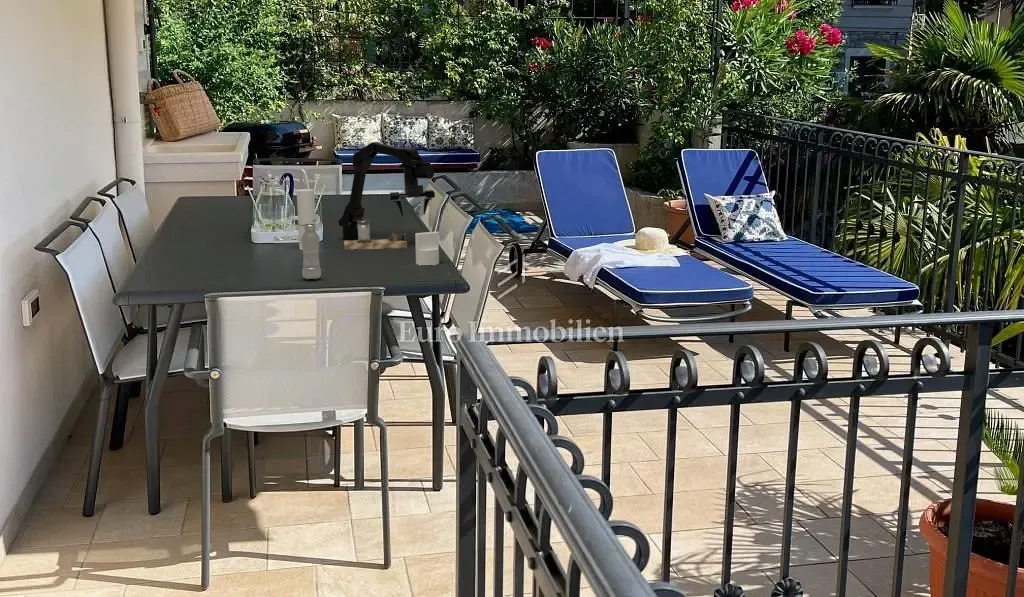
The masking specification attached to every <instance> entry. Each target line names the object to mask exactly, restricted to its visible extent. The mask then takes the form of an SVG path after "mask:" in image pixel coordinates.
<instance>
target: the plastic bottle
mask: <svg viewBox="0 0 1024 597" xmlns="http://www.w3.org/2000/svg"><path fill="white" fill-rule="evenodd" d="M304 230H305V232H304V234H303V236H302V238H301V242H302V248H303V251H302V256H303V260H302V261H303V262H302V263H303V264H302V265H303V266H302V271H301V273H302V277H303V279H304V278H305V279H304V280H309V279H314V280H317V279H320V278H321V274H322V269H321V266H320V259H319V256H320V255H319V253H320V251H319V250H320V241H321V238H320V235H319V234H318V233H317V231H316V232H315V224H305V225H304Z"/></svg>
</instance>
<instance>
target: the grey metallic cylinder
mask: <svg viewBox="0 0 1024 597" xmlns="http://www.w3.org/2000/svg"><path fill="white" fill-rule="evenodd" d="M357 223H358V224H357V228H358V239H357V240H358V243H370V240H371V236H370V235H371V234H370V233H371V232H370V231H371V230H370V224H371V220H370V219H361V220H357Z"/></svg>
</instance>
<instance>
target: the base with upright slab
mask: <svg viewBox="0 0 1024 597" xmlns="http://www.w3.org/2000/svg"><path fill="white" fill-rule="evenodd" d="M414 236H415V265H417V264H418V265H417V266H421V265H433V266H437V264H438V265H439V264H440V250H439V249H440V248H439V247H440V242H439V241H440V240H439V232H438V231H427V232H416V233H415V235H414Z"/></svg>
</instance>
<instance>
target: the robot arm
mask: <svg viewBox="0 0 1024 597" xmlns="http://www.w3.org/2000/svg"><path fill="white" fill-rule="evenodd" d="M378 154H382V155H386V156H390V157H394V158H396V159H397V160H398V161H401V164H399V165H398V168H399V169H403V177H404V178H403V179H404V180H403V181H404V182H403V183H404V193H403V192H402V193H400V192H399V191H394V192H393V191H392V192H391V191H390V192H389V195H388V196H389V200H390V201H392V202H393V203H396V205H397V208H398V209H399V212H400V215H401V217H404V212H403V207H402V203H401V202H402V201H401V199H403V198H405V199H406V198H408V199H411V198H422V197H424V198H423V206H422V207H423V209H422V210H423V216H425V215H426V211H427V208H428V205H429V202H430V201H432V200H433V199H434V198H436V196H435V193H436V192H435V191H434V190H433V189H427V190H426V189H425V190H424V184H421V185H420V184H419V179H420V180H421V179H425V180H427V179H428V180H432V179H433V177H434V176H435V169H434V167H433V165H432V164H431V162H430V161H426V162H425V161H424V159H423V158H422V156H421V155H420V154H419V151H418V149H417V148H416V147H397V146H394V145H390V144H385V143H380V142H379V141H373V142H372V141H371V142H370V143H368V144H367V145H366V146H365V147H363V148H361V149H360V150H358V151H356V152H354V153H353V155H352V167H353V169H354V173H353V179H352V185H351V191H350V197H349V202H348V203H347V204H346V206H345V207H344V211H343V213H342V216H341V217H340V218H339V219H338V221H337V222H338V225H339V227H342V240H343V241H352V240H358V223H357V220H363V217H365V215H364V214H365V207H362V198H363V191H364V187H365V180H366V174H367V172H368V171H369V169H370V168H371V165H372V163H373V159H374V158H376V157H377V155H378Z"/></svg>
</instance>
